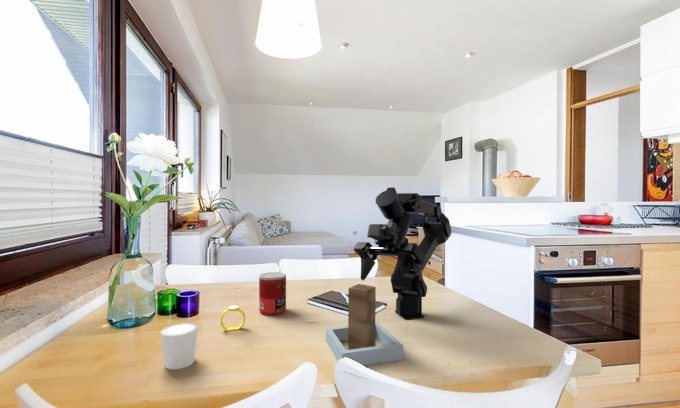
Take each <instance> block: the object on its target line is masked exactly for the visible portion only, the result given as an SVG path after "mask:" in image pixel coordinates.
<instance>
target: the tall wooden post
mask: <svg viewBox="0 0 680 408" xmlns="http://www.w3.org/2000/svg"><path fill="white" fill-rule="evenodd" d="M376 293H377V292H376V286H374V285H367V284H362V283H357V284H355V285H353V286H351V287H348V295H347V296H348V303H347V304H348V307H347V309H348V317H347V318H348V319H347V320H348V323H347V324H348V325H347V326H348V340H347V341H348V344H347V345H348V346H347V347H348V349H347V350H352V349H359V348H367V347H374V346H376V337H375V323H376V301H377V300H376V296H377V295H376Z"/></svg>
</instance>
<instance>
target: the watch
mask: <svg viewBox="0 0 680 408" xmlns="http://www.w3.org/2000/svg"><path fill="white" fill-rule="evenodd" d="M237 311H238V312H240V313H241V315H242V317H243V320H242V322H241V324H239V326H237V327H236V326H235V327H234V326H233V327H227V326H226V325H225V324H224V322H223V318H224V316H225V314H226V313H229V312H237ZM245 322H246V313H245V312H244V311H243V309H242V308H240V306H239V305H233V304H232V305H229V306H228V307H227V309H225V310H223V312H222V314H221V316H220V325H221V327H222V329H224V330H225V331H226V332H229V331H230V332H231V331H239V330H241V329H242V327H243V326H244V324H245Z"/></svg>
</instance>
